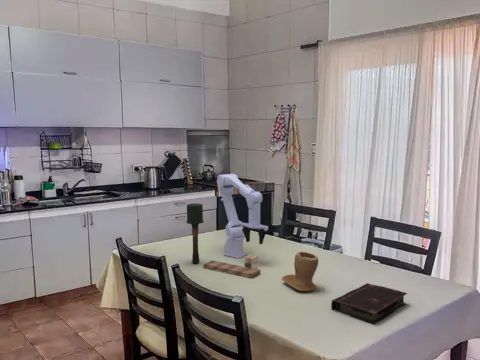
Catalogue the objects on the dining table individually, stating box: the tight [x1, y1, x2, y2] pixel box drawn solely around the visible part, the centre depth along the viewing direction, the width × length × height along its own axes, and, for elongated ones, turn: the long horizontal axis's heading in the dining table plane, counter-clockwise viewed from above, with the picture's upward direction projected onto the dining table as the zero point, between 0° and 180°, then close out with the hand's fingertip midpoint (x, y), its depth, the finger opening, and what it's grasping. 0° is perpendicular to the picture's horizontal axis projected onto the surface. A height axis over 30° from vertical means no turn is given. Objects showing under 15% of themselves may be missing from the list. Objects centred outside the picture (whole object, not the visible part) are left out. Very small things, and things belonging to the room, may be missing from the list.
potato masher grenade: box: [186, 202, 205, 264], centre depth 218 cm, size 8×9×30 cm
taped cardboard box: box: [244, 254, 258, 270], centre depth 208 cm, size 4×5×6 cm
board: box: [202, 260, 261, 279], centre depth 207 cm, size 28×7×2 cm, turn 57°
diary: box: [330, 282, 408, 325], centre depth 165 cm, size 19×25×5 cm
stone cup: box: [281, 251, 319, 292], centre depth 186 cm, size 15×12×15 cm
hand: (254, 242), depth 218 cm, fingers open, 7 cm apart
